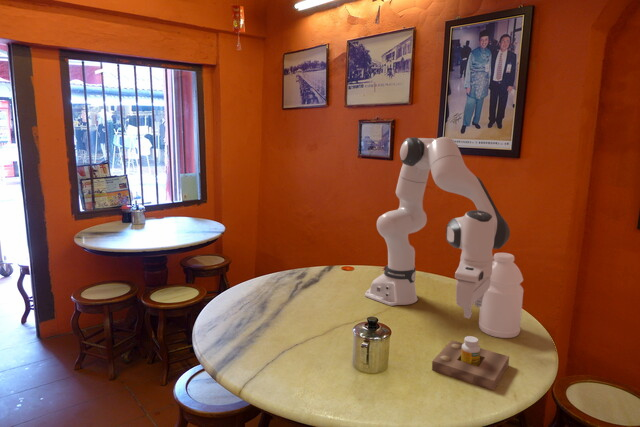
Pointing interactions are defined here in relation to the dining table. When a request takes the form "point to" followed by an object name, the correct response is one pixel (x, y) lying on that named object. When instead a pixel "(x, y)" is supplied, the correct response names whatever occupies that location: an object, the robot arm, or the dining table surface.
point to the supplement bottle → (470, 351)
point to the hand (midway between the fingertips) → (473, 311)
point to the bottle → (502, 299)
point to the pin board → (471, 366)
